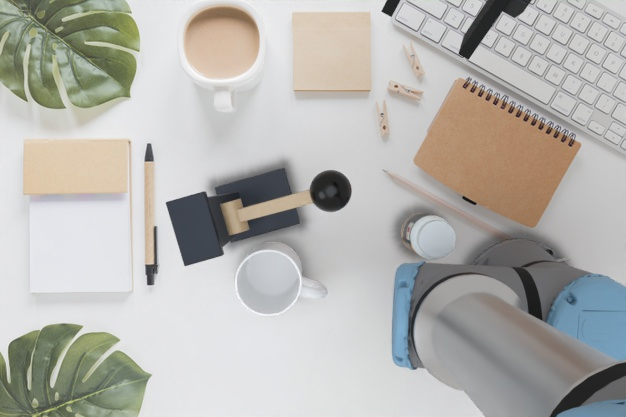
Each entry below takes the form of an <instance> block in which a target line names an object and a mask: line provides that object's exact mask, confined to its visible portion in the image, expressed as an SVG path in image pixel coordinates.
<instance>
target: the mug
mask: <svg viewBox="0 0 626 417" xmlns="http://www.w3.org/2000/svg"><path fill="white" fill-rule="evenodd" d="M236 269H237V270H236V272H235V276H234V290H235V293H236V296H237V298H238V300H239V302H240V303H241V304H242V305H243V306H244V308H245V309H247V310H248V311H249V312H251V313H253V314H256V315H259V316H261V317H262V316H263V317H274V316H275V317H276V316H278V315H281V314H283V313H285V312H287V311H289V310H290V309H291V308H292V307H293V306H294V305H295V304H296V302H298V300H299V298H300V297H302V298H306V299H311V300H321V299H325V298H326V297H327V296H328V293H329V291H328V288H327V287H326V286H325V285H324V284H322V283H320V282H318V281H316V280H314V279H311V278H308V277H305V276H303V266H302V262H301V259H300V257H299V255H298V254H297V252H296V251H295V250H294V249H293V248H292V247H291V246H290V245H288V244H286V243H283V242H280V241H274V240H273V241H271V240H270V241H264V242H261V243H259V244H257V245H255V246H254V247H253V248H252V249H251V250H250V251H249V252H248V253H247V255H246V256H245V257H244V259H243V260H242V261H241V262H240V264H239V265H238V268H236Z"/></svg>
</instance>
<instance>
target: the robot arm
mask: <svg viewBox="0 0 626 417" xmlns="http://www.w3.org/2000/svg"><path fill="white" fill-rule="evenodd" d="M532 1H533V0H486V1H485V3H484V5H483V6H482V8H481V9H480V11H478V14H476V16H475V17H474V20H472V23H471V24H470V25H469V27H468V29H467V30H466V31H465V33H464V34H463V37H462V41H461V43H460V47H459V50H458V53H457V54H458V55H459V56H461V57H462V58H465V59H466V60H468V61H469V60H470V58H471V57H472V55H473V54H474V53H475V51H476V50H477V48H479V46H480V44H481V43H482V42H483V40H484V39H485V37H486V36H487V35H488V33H489V31H490V30H491V29H492V27H493V26H494V24H495V23H496V21H497V20H498V19H499V17H500V15H501V14H502V13H504V14H507V15H508V16H509V17H512V18H514V19H516V18H517V17H519V16H520V15H521V14H523V13H524V12H525V11H526V9H527V8H528V6H529V5H530V4H531V2H532ZM400 2H401V0H386V1H385V3H384V5H383V7H382V9H381V11H380V12H381V13H383V14H385V15H387V16H389V17H390V18H392V17H393V15H394V13H395V12H396V10H397V7H398V5H399V4H400ZM570 260H572V258H568V257H562V256H561V254H559V253H558V252H557V251H555V250H554V249H552V248H551V247H549V246H547V245H545V244H544V243H540V242H538V241H535V240H530V239H525V238H512V239H506V240H502V241H499V242H497V243H494V244H492V245H490V246H489V247H488V248H486V249H484V250H483V251H482V252H481V253H480V254H479V255H478V256H477V257H476V258H475V259H474V261H473V263H472V264H463V263H462V264H461V263H460V264H459V263H441V262H426V261H424V260H420V261H418V262H404V263H401V264H400V265H399V266H398V267H397V268H396V270H395V273H394V281H393V292H392V293H393V294H392V295H393V296H392V310H391V311H392V314H391V360H392V362H393V364H394V365H396V366H397V367H398V368H405V369H409V370H411V371H416V370H418V369H425V370H426V371H427V372H428V373H429V374H430V375H431V376H432V377H433V378H434V379H436V380H437V381H438V382H440V383H442V384H443V385H445V386H447V387H449V388H451V389H454V390H457V391H461V392H462V391H463V392H464V393H465V394H466V395H467V397H468V398H469V399H470V401H471V402H472V403H473V404H474V405H475V406H476V407H477V409H478V410H479V411H480V412H481V414H482V415H483V416H484V417H626V285H624V284H622V283H620V282H618V281H616V280H615V279H614V278H611V277H610V276H608V275H604V274H602V273H594V272H590V271H587V270H583V269H581V268H577V267H574V266H570V265H569V264H568V263H567V261H570Z"/></svg>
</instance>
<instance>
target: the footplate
mask: <svg viewBox="0 0 626 417" xmlns="http://www.w3.org/2000/svg"><path fill="white" fill-rule="evenodd" d="M214 191H215V194H216V195H223V194H229V193H236V192H238V193H239V196H240V199H241V201H242V205H243V208H244V207H248V206H251V205H255V204H259V203H262V202H266V201H270V200H273V199H277V198H280V197H284V196H288V195H291V194H293V193H292V189H291V186H290V183H289V178H288V175H287V172H286V168H285V167H282V168H278V169H275V170H274V169H273V170H272V171H267V172H264V173H261V174H257V175H254V176H250V177H246V178H243V179H239V180H236V181H233V182H232V181H231V182H230V183H225V184H222V185H218V186H215V187H214ZM247 222H248V226H249V230H247V231H244V232H241V233H240V234H238V235H237V236H236V237H235V238H233V239H232V240H231V241H230V242H229V243H231V244H232V243H236V242H239V241H242V240H246V239H249V238H254V237H257V236H260V235H263V234H267V233H271V232H274V231H278V230H281V229H286V228H289V227H291V226H296V225H299V224H300V223H301V221H300V217H299V214H298V211H297V208H293V209H289V210H285V211H282V212H278V213H274V214H270V215H266V216H263V217H259V218H255V219H251V220H247Z"/></svg>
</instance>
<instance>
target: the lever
mask: <svg viewBox="0 0 626 417" xmlns="http://www.w3.org/2000/svg"><path fill="white" fill-rule="evenodd" d="M352 188H353V187H352V184H351V181H350V180H349V178H348V177H347V176H346V175H345V174H344V173H343V172H341V171H338V170H335V169H326V170H323V171H321V172H319V173H317V174H316V175H315V176H314V177H313V179H312V180H311V182H310V185H309V189H306V190H303V191H299V192H295V193H292V194H291V195H288V196H284V197H280V198H277V199H273V200H270V201H266V202H262V203H259V204H255V205H251V206H248V207H244V208H243V205H242V201H241V199H237V200H233V201H230V202H226V203H223V204H220V207H221V210H222V214H223V217H224V221H225V224H226V228H227V231H228V234H229V235H234V234H237V233H241V232H244V231H247V230H249V226H248V222H247V220H251V219H255V218H259V217H263V216H266V215H270V214H274V213H278V212H282V211H285V210H289V209H293V208H296V209H297V208H301V207H304V206H308V205H311V204H313V205H314V206H315V207H316V208H317V209H319V210H321V211H323V212H325V213H334V212H338V211H341V210H342V209H344V208H345V207H347V205H348V204H349V203H350V200H351V198H352V191H353V189H352Z"/></svg>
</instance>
